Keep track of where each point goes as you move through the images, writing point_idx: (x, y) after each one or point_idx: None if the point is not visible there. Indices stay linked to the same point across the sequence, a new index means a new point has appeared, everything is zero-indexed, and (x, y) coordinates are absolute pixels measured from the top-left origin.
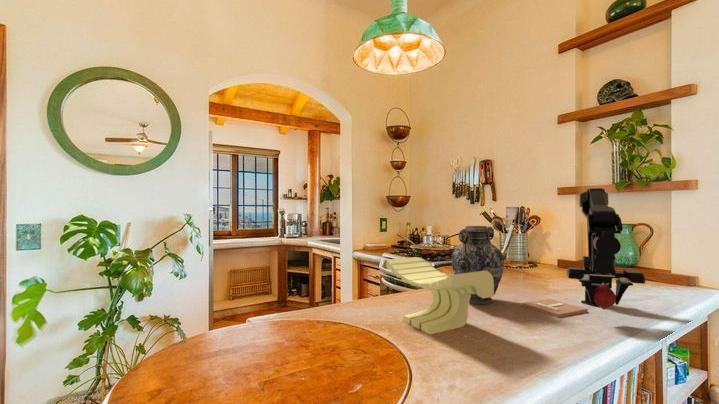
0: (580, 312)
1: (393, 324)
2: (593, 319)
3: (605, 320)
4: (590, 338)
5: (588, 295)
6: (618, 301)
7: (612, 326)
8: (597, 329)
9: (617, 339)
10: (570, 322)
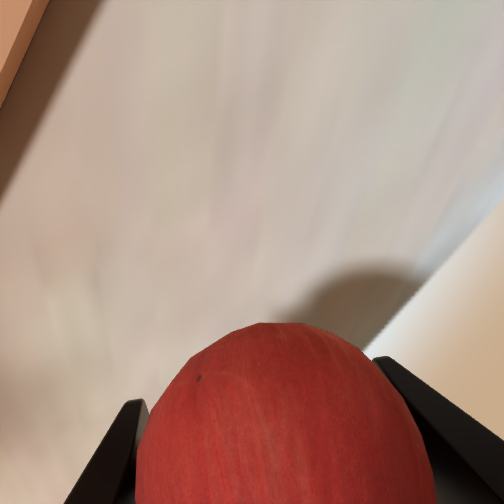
0: (22, 48)
1: None
2: (165, 221)
3: (250, 202)
4: None
5: (83, 483)
6: None
7: (270, 313)
8: None
9: None
10: (30, 365)
